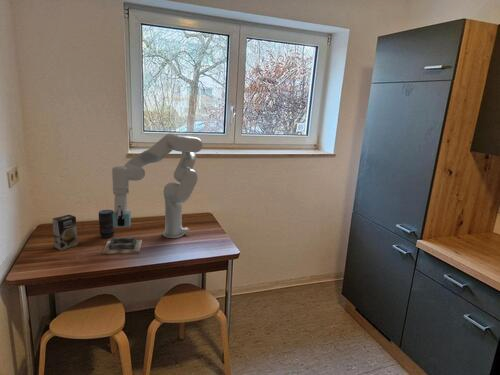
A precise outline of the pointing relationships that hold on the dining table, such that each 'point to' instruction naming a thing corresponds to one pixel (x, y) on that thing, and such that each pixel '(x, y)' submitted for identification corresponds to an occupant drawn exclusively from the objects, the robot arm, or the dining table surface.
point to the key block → (126, 219)
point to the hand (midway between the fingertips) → (122, 223)
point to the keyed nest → (122, 246)
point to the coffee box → (65, 232)
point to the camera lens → (106, 223)
